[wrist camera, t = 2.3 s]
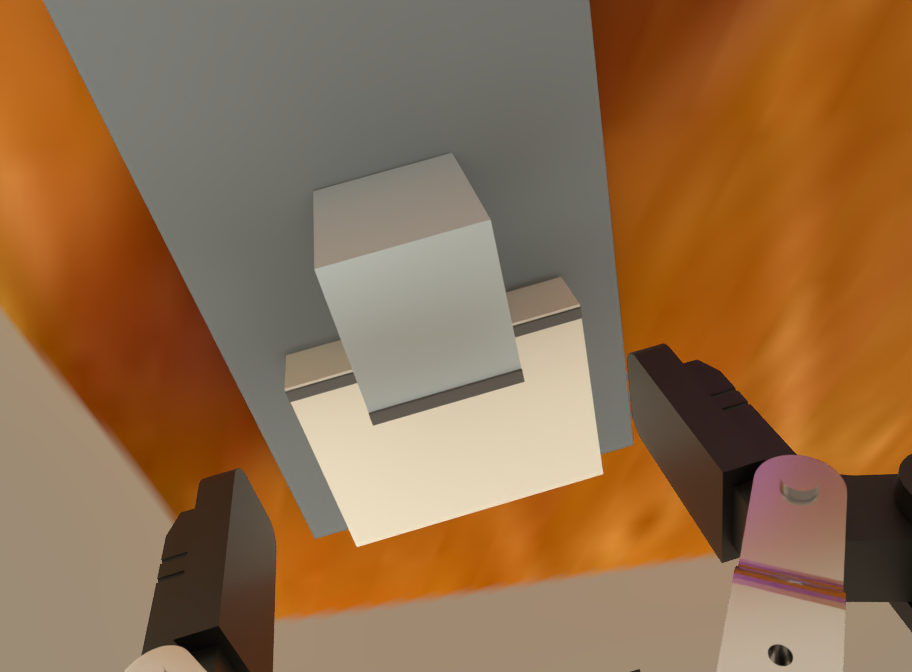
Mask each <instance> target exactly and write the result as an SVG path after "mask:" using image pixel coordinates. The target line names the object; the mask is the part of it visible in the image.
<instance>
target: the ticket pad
mask: <svg viewBox="0 0 912 672" xmlns="http://www.w3.org/2000/svg"><path fill="white" fill-rule="evenodd" d="M43 2H44V4H45V6H46V8H47V10H48V12H49V14H50V16H51V18H52V20H53V22H54V24H55V26H56V28H57V29H58V31H59V33H60V35H61V37H62V39H63V41H64V43H65V45H66V47H67V49H68V51H69V53H70V55H71V57H72V59H73V61H74V63H75V65H76V67H77V69H78V71H79V73H80V75H81V77H82V79H83V81H84V83H85V85H86V87H87V89H88V91H89V93H90V95H91V97H92V99H93V101H94V103H95V105H96V107H97V109H98V111H99V113H100V114H101V116H102V118H103V120H104V122H105V124H106V126H107V128H108V130H109V132H110V134H111V136H112V138H113V140H114V142H115V144H116V146H117V148H118V150H119V152H120V154H121V156H122V158H123V160H124V162H125V164H126V166H127V168H128V170H129V172H130V174H131V176H132V178H133V180H134V182H135V184H136V186H137V188H138V190H139V192H140V194H141V196H142V198H143V200H144V201H145V203H146V205H147V207H148V209H149V211H150V213H151V215H152V217H153V219H154V221H155V223H156V225H157V227H158V229H159V231H160V233H161V235H162V237H163V239H164V241H165V243H166V245H167V247H168V249H169V251H170V253H171V255H172V257H173V259H174V261H175V263H176V265H177V267H178V269H179V271H180V273H181V275H182V277H183V279H184V281H185V283H186V285H187V287H188V288H189V290H190V292H191V294H192V296H193V298H194V300H195V302H196V304H197V306H198V308H199V310H200V312H201V314H202V316H203V318H204V320H205V322H206V324H207V326H208V328H209V330H210V332H211V334H212V336H213V338H214V340H215V342H216V344H217V346H218V348H219V350H220V352H221V354H222V356H223V358H224V360H225V362H226V364H227V366H228V368H229V370H230V372H231V374H232V375H233V377H234V379H235V381H236V383H237V385H238V387H239V389H240V391H241V393H242V395H243V397H244V399H245V401H246V403H247V405H248V407H249V409H250V411H251V413H252V415H253V417H254V419H255V421H256V423H257V425H258V427H259V429H260V431H261V433H262V435H263V437H264V439H265V441H266V443H267V445H268V447H269V449H270V451H271V453H272V455H273V457H274V459H275V460H276V462H277V464H278V466H279V468H280V470H281V472H282V474H283V476H284V478H285V480H286V482H287V484H288V486H289V488H290V490H291V492H292V494H293V496H294V498H295V500H296V502H297V504H298V506H299V508H300V510H301V512H302V514H303V516H304V518H305V520H306V522H307V524H308V526H309V528H310V530H311V532H312V534H313V536H314V538H315V539H316V538H319V537H323V536H326V535H330V534H333V533H336V532H340V531H343V530H346V529H349V531H350V533H351V535H352V537H353V540H354V542H355V544H356V546H357V547H359V546H362V545H365V544H369V543H372V542H375V541H379V540H382V539H386V538H389V537H392V536H396V535H399V534H403V533H406V532H409V531H413V530H416V529H419V528H423V527H426V526H430V525H433V524H436V523H440V522H443V521H446V520H450V519H453V518H457V517H460V516H463V515H467V514H470V513H473V512H477V511H480V510H484V509H487V508H490V507H494V506H497V505H500V504H504V503H507V502H511V501H514V500H517V499H521V498H524V497H527V496H531V495H534V494H538V493H541V492H544V491H548V490H551V489H554V488H558V487H561V486H565V485H568V484H571V483H575V482H578V481H582V480H585V479H588V478H592V477H595V476H598V475H602V474H603V469H602V462H601V454H604V453H607V452H611V451H614V450H618V449H621V448H624V447H628V446H631V445H634V444H633V434H632V424H631V414H630V404H629V394H628V384H627V374H626V364H625V354H624V344H623V334H622V324H621V314H620V304H619V294H618V284H617V274H616V264H615V254H614V244H613V234H612V224H611V214H610V204H609V194H608V184H607V173H606V163H605V153H604V143H603V133H602V123H601V113H600V103H599V93H598V83H597V73H596V63H595V53H594V43H593V33H592V23H591V13H590V3H589V0H43ZM449 153H453V155H454V157H455V159H456V160H457V162H458V164H459V166H460V167H461V169H462V171H463V172H464V174H465V176H466V178H467V179H468V181H469V183H470V185H471V186H472V188H473V190H474V191H475V193H476V195H477V197H478V198H479V200H480V202H481V204H482V205H483V207H484V209H485V211H486V212H487V214H488V216H489V217H490V219H491V224H492V228H493V233H494V238H495V243H496V248H497V253H498V257H499V262H500V267H501V272H502V277H503V282H504V286H505V291H506V296H507V301H508V306H509V311H510V315H511V320H512V325H513V330H514V335H515V340H516V345H517V349H518V354H519V359H520V364H521V369H522V371H523V376H524V381H525V382H522V383H519V384H515V385H512V386H508V387H505V388H501V389H498V390H494V391H491V392H488V393H484V394H481V395H477V396H474V397H470V398H467V399H464V400H460V401H457V402H453V403H450V404H446V405H443V406H439V407H436V408H433V409H429V410H426V411H422V412H419V413H415V414H412V415H408V416H405V417H402V418H398V419H395V420H391V421H388V422H384V423H381V424H377V425H374V426H373V424H372V422H371V419H370V416H369V412H368V410H367V407H366V404H365V402H364V399H363V396H362V394H361V391H360V389H359V386H358V383H357V381H356V378H355V375H354V373H353V370H352V368H351V365H350V362H349V360H348V357H347V354H346V352H345V349H344V346H343V344H342V341H341V339H340V336H339V333H338V331H337V328H336V325H335V323H334V320H333V318H332V315H331V312H330V310H329V307H328V304H327V302H326V299H325V296H324V294H323V291H322V289H321V286H320V283H319V281H318V278H317V275H316V273H315V270H314V216H313V191H316V190H319V189H323V188H326V187H330V186H334V185H337V184H341V183H344V182H348V181H352V180H355V179H359V178H362V177H366V176H370V175H373V174H377V173H380V172H384V171H388V170H391V169H395V168H398V167H402V166H405V165H409V164H413V163H416V162H420V161H423V160H427V159H431V158H434V157H438V156H441V155H445V154H449Z"/></svg>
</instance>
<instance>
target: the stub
mask: <svg viewBox="0 0 912 672" xmlns="http://www.w3.org/2000/svg"><path fill="white" fill-rule="evenodd" d="M313 216H314V270H315V273H316V275H317V278H318V281H319V283H320V286H321V289H322V291H323V294H324V296H325V299H326V302H327V304H328V307H329V310H330V312H331V315H332V318H333V320H334V323H335V325H336V328H337V331H338V333H339V336H340V339H341V341H342V344H343V346H344V349H345V352H346V354H347V357H348V360H349V362H350V365H351V368H352V370H353V373H354V375H355V378H356V381H357V383H358V386H359V389H360V391H361V394H362V396H363V399H364V402H365V404H366V407H367V410H368V412H369V416H370V419H371V422H372V424H373V426H374V425H377V424H381V423H384V422H388V421H391V420H395V419H398V418H402V417H405V416H408V415H412V414H415V413H419V412H422V411H426V410H429V409H433V408H436V407H439V406H443V405H446V404H450V403H453V402H457V401H460V400H464V399H467V398H470V397H474V396H477V395H481V394H484V393H488V392H491V391H494V390H498V389H501V388H505V387H508V386H512V385H515V384H519V383H522V382H525V381H524V376H523V371H522V369H521V364H520V359H519V354H518V349H517V345H516V340H515V335H514V330H513V325H512V320H511V315H510V311H509V306H508V301H507V296H506V291H505V286H504V282H503V277H502V272H501V267H500V262H499V257H498V253H497V248H496V243H495V238H494V233H493V228H492V224H491V219H490V217H489V216H488V214H487V212H486V211H485V209H484V207H483V205H482V204H481V202H480V200H479V198H478V197H477V195H476V193H475V191H474V190H473V188H472V186H471V185H470V183H469V181H468V179H467V178H466V176H465V174H464V172H463V171H462V169H461V167H460V166H459V164H458V162H457V160H456V159H455V157H454V155H453V153H449V154H445V155H441V156H438V157H434V158H431V159H427V160H423V161H420V162H416V163H413V164H409V165H405V166H402V167H398V168H395V169H391V170H388V171H384V172H380V173H377V174H373V175H370V176H366V177H362V178H359V179H355V180H352V181H348V182H344V183H341V184H337V185H334V186H330V187H326V188H323V189H319V190H316V191H313Z"/></svg>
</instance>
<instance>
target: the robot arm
mask: <svg viewBox="0 0 912 672" xmlns="http://www.w3.org/2000/svg"><path fill="white" fill-rule="evenodd" d="M627 368H628V379H629V390H630V401H631V411H632V416H633V420H634V423H635V426H636V429H637V431H638V434H639V436H640V438H641V439H642V441H643V443H644V444H645V446H646V447H647V449H648V450H649V452H650V453H651V455H652V456H653V458H654V460H655V461H656V463H657V464H658V466H659V467H660V469H661V470H662V472H663V473H664V475H665V476H666V478H667V479H668V481H669V483H670V484H671V486H672V487H673V489H674V490H675V492H676V493H677V495H678V496H679V498H680V499H681V501H682V503H683V504H684V506H685V507H686V509H687V510H688V512H689V513H690V515H691V516H692V518H693V519H694V521H695V522H696V524H697V526H698V527H699V529H700V530H701V532H702V533H703V535H704V536H705V538H706V539H707V541H708V542H709V544H710V546H711V547H712V549H713V550H714V552H715V553H716V555H717V556H718V558H719V559H720V561H721V562H722V563H724V562H727V561H730V560H733V559H736V558H739V557H740V561H739V565H738V566H736V567H735V570H734V575H733V580H732V585H731V591H730V596H729V602H728V608H727V613H726V619H725V624H724V631H723V636H722V641H721V647H720V653H719V658H718V664H717V670H716V672H843V668H844V642H845V640H844V639H845V616H846V615H845V614H846V602H889V603H890V604H891V605H892V607H893V608H894V610H895V611H896V612H897V614H898V615H899V616H900V617H901V619H902V620H903V621H904V623H905V624H906V625H907V627H908V628H909V629H910V630H911V632H912V454H911V455H909V456H907V457H906V458H905V459H904V460H903V461H902V463H901V465H900V468H899V472H898V474H889V475H860V476H853V475H841V474H839V473H838V472H837V471H836V470H834V469H833V468H832V467H831V466H829V465H827V464H826V463H824V462H822V461H820V460H817V459H814V458H811V457H807V456H801V455H797V454H796V453H795V452H794V451H793V450H792V449H791V448H790V447H789V446H788V445H787V444H786V443H785V442H784V440H783V439H782V438H781V437H780V436H779V435H778V434H777V433H776V432H775V431H774V430H773V428H772V427H771V426H770V425H769V424H768V423H767V422H766V421H765V420H764V419H763V418H762V416H761V415H760V414H759V413H758V412H757V411H756V410H755V409H754V408H753V407H752V406H751V404H750V405H749V404H748V402H747V400H746V399H745V398H744V397H743V396H742V395H741V394H740V392H739V391H736V390H735V387H734V386H733V385H732V384H731V383H730V382H729V380H728V379H727V378H726V377H725V376H724V375H723V374H722V373H721V372H720V371H719V370H717V369H715V368H713V367H711V366H709V365H707V364H705V363H703V362H701V361H699V360H694V361H691V362H687V363H684V364H683V363H682V362H681V361H680V359H679V358H678V357H677V356H676V355H675V353H674V352H673V351H672V350H671V349H670V348H669V347H668V346H667V345H666V344H659V345H656V346H653V347H649V348H646V349H642V350H639V351H636V352H632V353H629V354H628V356H627ZM161 560H162V564H160V569H159V573H158V578H157V579H158V583H156V588H155V592H154V597H153V602H152V607H151V612H150V617H149V622H148V627H147V631H146V636H145V641H144V646H143V651H142V655H141V656H140V657H139V658H137V659H136V660H135V661H134V662H132V663H131V664H130V666H128V667H127V668H126V669H125V670H124V672H273V645H274V644H273V643H274V612H275V578H276V540H275V535H274V531H273V527H272V524H271V521H270V519H269V517H268V515H267V513H266V512H265V510H264V508H263V506H262V504H261V502H260V500H259V499H258V497H257V495H256V493H255V491H254V489H253V487H252V486H251V484H250V482H249V480H248V478H247V476H246V475H245V473H244V472H243V471H242V470H241V469H240V468H238V469H235V470H231V471H228V472H225V473H221V474H218V475H214V476H211V477H208V478H204V479H202V480H201V481H200V483H199V488H198V494H197V500H196V506H195V509H192V510H188V511H185V512H182V513H180V515H179V516H178V518H177V520H176V521H175V523H174V524H173V526H172V528H171V529H170V531H169V532H168V534H167V536H166V539H165V544H164V549H163V554H162V559H161ZM632 672H640V670H639V669H638V670H635V671H632Z"/></svg>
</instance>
